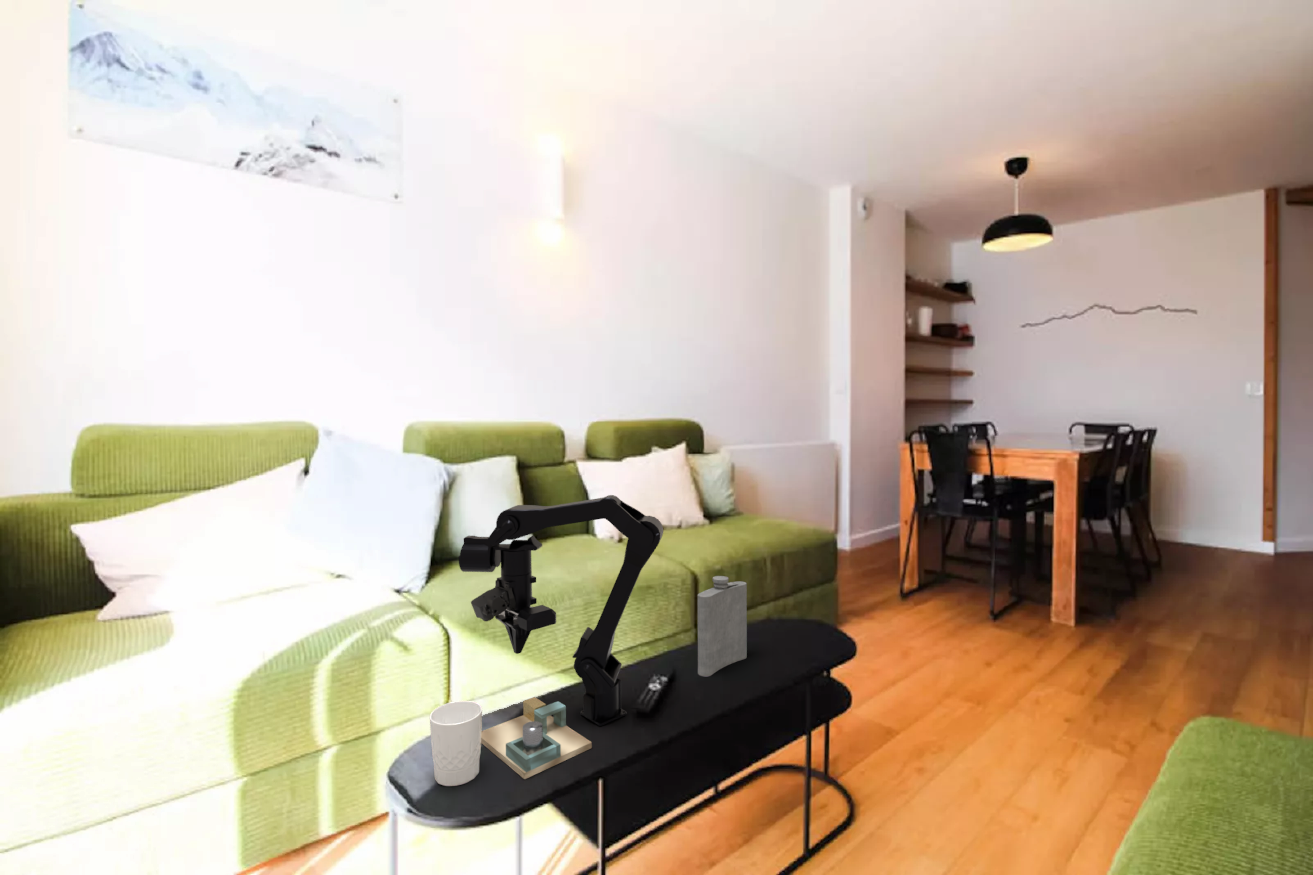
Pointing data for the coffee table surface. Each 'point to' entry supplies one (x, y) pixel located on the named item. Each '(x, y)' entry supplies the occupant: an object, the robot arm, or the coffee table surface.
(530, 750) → the spigot peg
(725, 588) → the hip flask
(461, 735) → the white cup
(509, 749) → the dock board
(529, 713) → the tan wooden block
